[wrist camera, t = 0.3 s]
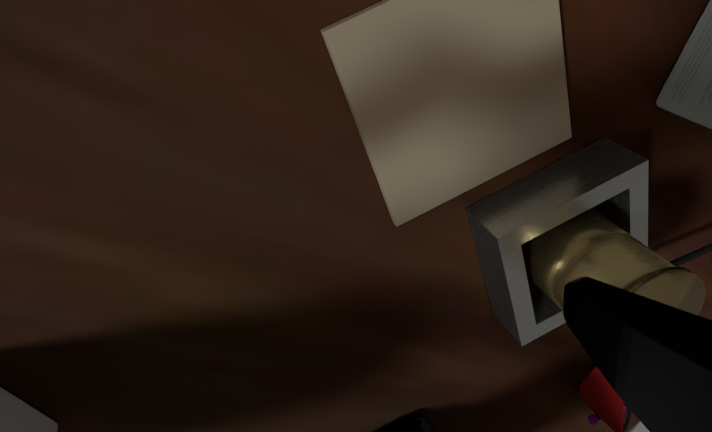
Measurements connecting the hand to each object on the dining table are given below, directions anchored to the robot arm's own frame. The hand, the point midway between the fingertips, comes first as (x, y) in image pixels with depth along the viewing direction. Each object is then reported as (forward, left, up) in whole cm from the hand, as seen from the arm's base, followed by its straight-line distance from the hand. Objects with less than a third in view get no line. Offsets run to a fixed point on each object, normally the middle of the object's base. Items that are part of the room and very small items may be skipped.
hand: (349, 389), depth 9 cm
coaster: (-3, -9, -14) cm, 17 cm away
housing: (-14, -12, -14) cm, 23 cm away
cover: (-14, -12, -14) cm, 23 cm away
